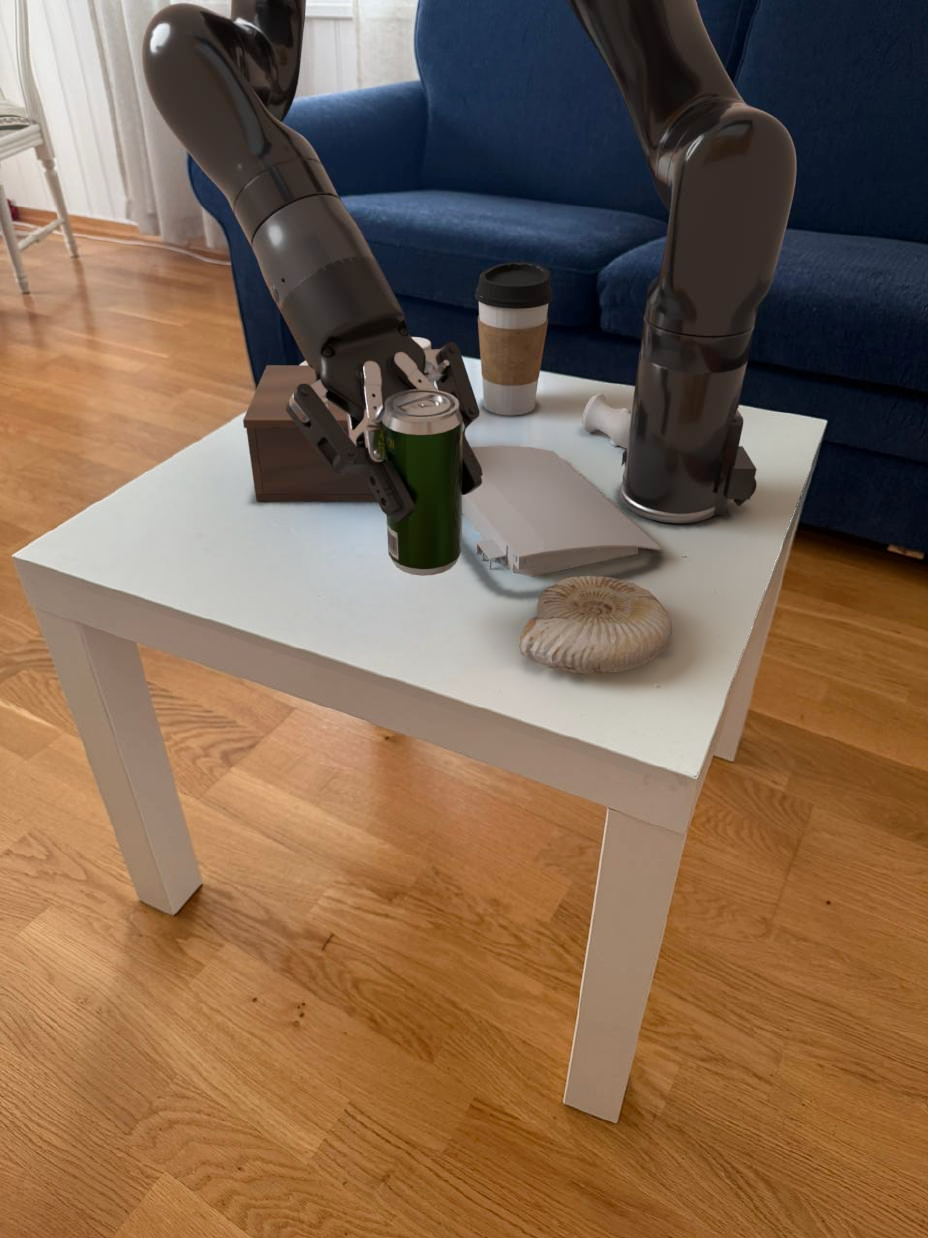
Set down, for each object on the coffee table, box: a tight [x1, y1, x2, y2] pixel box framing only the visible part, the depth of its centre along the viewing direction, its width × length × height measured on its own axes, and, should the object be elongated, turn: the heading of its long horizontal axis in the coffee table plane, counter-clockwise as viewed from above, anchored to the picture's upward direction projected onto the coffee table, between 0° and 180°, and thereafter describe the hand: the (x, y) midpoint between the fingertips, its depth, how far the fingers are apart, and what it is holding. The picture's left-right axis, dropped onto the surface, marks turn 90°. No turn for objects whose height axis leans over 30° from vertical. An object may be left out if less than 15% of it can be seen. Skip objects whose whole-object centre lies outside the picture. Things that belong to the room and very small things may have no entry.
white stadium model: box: [462, 445, 662, 577], centre depth 83 cm, size 15×23×4 cm, turn 22°
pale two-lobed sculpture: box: [582, 393, 632, 449], centre depth 97 cm, size 4×8×5 cm
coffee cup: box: [474, 262, 554, 417], centre depth 101 cm, size 8×8×15 cm
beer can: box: [382, 389, 463, 577], centre depth 63 cm, size 5×5×12 cm
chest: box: [245, 428, 378, 503], centre depth 89 cm, size 13×16×8 cm
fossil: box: [518, 575, 673, 674], centre depth 68 cm, size 12×5×10 cm
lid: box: [242, 364, 348, 429], centre depth 86 cm, size 13×16×1 cm
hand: (440, 501), depth 62 cm, fingers closed on beer can, 5 cm apart
